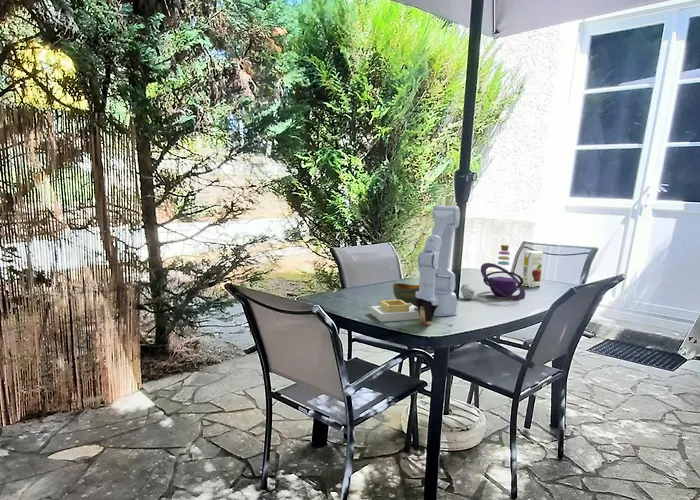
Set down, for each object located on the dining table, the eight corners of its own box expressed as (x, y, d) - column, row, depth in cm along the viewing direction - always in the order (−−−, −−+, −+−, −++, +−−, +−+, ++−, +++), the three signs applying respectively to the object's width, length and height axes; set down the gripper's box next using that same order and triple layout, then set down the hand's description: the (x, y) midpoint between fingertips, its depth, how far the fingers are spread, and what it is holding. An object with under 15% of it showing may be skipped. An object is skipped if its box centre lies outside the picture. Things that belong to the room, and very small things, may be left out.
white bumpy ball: (466, 296, 216) (467, 282, 215) (477, 299, 210) (478, 285, 209) (457, 297, 213) (457, 283, 212) (467, 301, 207) (468, 286, 206)
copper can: (427, 322, 172) (428, 304, 171) (433, 325, 168) (434, 307, 167) (417, 323, 171) (418, 305, 170) (422, 326, 167) (423, 308, 166)
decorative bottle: (508, 304, 202) (512, 249, 199) (469, 295, 218) (472, 244, 215) (534, 297, 216) (538, 246, 213) (495, 289, 232) (498, 241, 229)
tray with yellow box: (410, 310, 189) (411, 297, 188) (424, 318, 177) (424, 305, 176) (370, 313, 183) (370, 300, 182) (381, 321, 172) (381, 307, 171)
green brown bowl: (416, 311, 187) (417, 287, 186) (389, 301, 204) (390, 279, 203) (440, 308, 193) (441, 285, 192) (413, 298, 211) (413, 277, 209)
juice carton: (519, 285, 245) (522, 250, 242) (533, 284, 247) (535, 250, 245) (529, 288, 238) (531, 252, 235) (542, 287, 240) (545, 252, 238)
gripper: (408, 280, 173) (407, 314, 175) (426, 288, 160) (424, 325, 161) (425, 279, 175) (424, 313, 177) (444, 287, 162) (442, 324, 164)
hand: (425, 319), depth 169 cm, fingers closed on copper can, 4 cm apart
